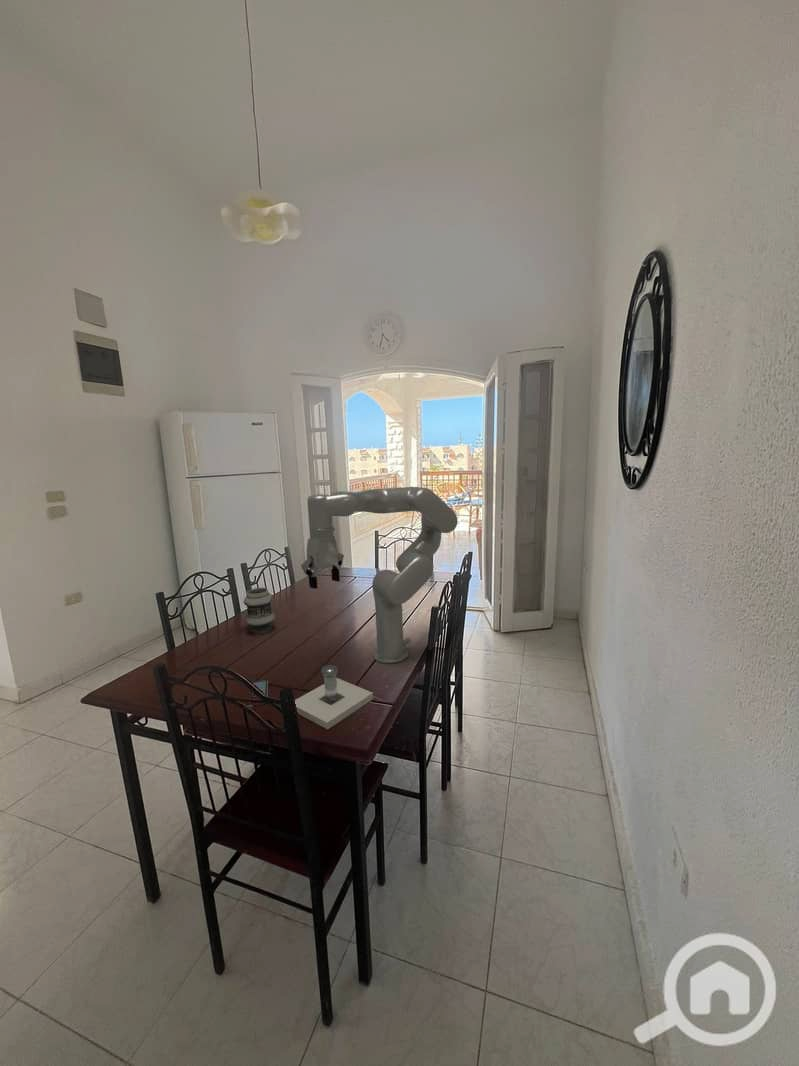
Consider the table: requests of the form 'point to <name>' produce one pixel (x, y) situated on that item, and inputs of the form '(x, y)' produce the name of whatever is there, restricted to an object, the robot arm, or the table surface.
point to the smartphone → (261, 687)
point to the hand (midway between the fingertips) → (325, 584)
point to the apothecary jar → (259, 611)
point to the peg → (330, 683)
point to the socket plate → (328, 714)
